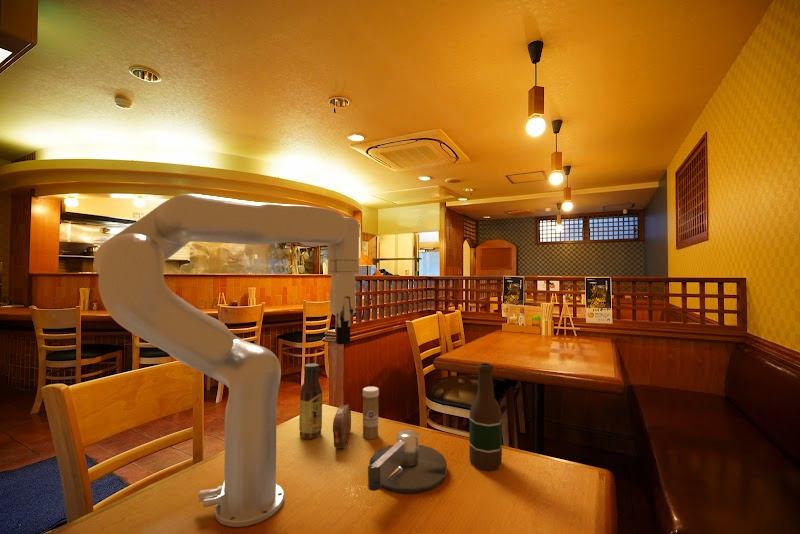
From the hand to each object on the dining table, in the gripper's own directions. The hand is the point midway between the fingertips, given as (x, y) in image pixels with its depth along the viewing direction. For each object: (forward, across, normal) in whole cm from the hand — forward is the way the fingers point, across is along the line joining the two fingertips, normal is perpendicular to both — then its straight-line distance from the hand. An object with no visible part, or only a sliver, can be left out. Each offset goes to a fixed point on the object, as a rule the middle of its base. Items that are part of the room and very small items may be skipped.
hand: (343, 343), depth 88 cm
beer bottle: (+29, +11, +33) cm, 45 cm away
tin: (+29, -12, +2) cm, 32 cm away
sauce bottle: (+29, -18, -6) cm, 35 cm away
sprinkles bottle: (+29, -12, +10) cm, 33 cm away
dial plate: (+29, +8, +14) cm, 33 cm away
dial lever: (+27, +13, +9) cm, 31 cm away
